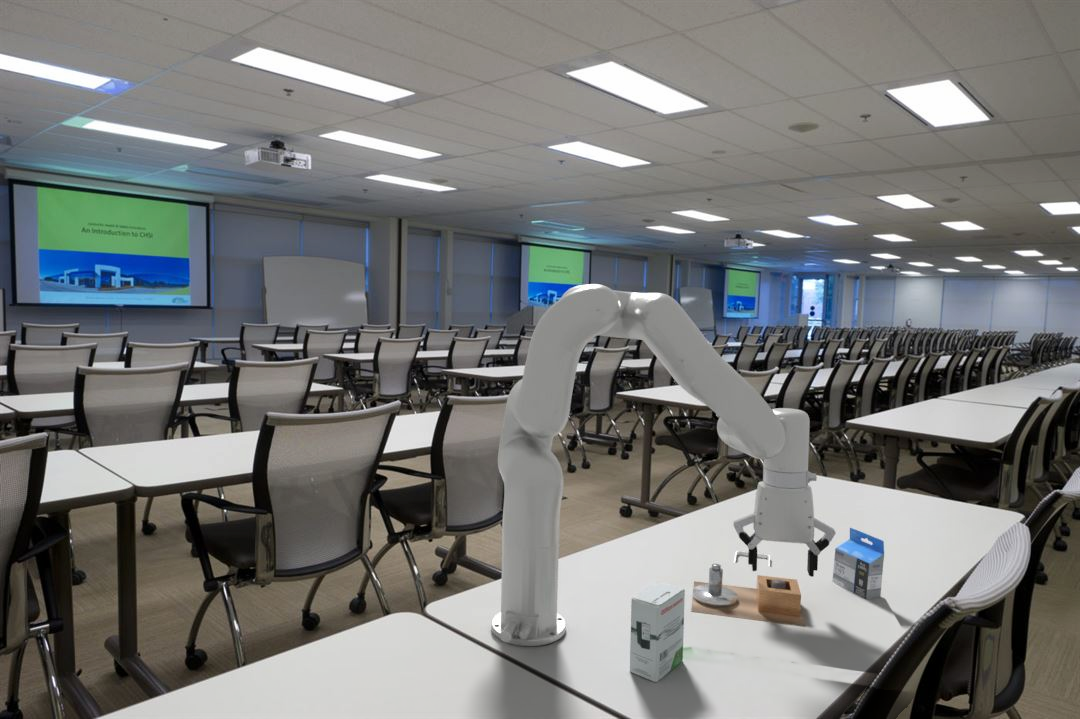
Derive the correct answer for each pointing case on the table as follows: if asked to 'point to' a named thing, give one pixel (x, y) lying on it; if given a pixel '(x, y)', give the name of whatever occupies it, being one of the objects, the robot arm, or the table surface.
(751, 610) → the walnut board
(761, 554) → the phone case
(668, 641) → the ink box
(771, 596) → the wooden square washer
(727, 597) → the steel hub
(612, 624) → the table surface
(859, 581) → the label tape box
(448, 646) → the table surface
